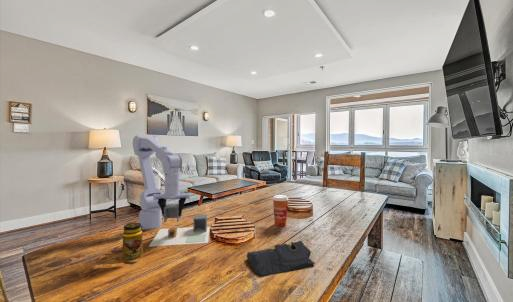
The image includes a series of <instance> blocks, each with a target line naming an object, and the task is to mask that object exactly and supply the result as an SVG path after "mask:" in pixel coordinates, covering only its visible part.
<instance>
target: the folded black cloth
mask: <svg viewBox="0 0 513 302" xmlns="http://www.w3.org/2000/svg"><path fill="white" fill-rule="evenodd" d="M311 253H312V251H311V250H310V248H308V247H307V246H306V245H305V244H304V243H303V241H302V240H298V241H294V242H291V243H290V244H288V243H282V244H280V243H279V244H275V245H274V248H266V249H261V250H253V251H248V252H247V254H246V258H247V260H248V263H249V264H250V267H251V268H252V270H253V271H254V273H255V274H257V275H258V276H260V277H262V278H263V277H268V276H269V277H270V276H273V275H279V274H284V273H285V274H286V273H289V272H294V271H299V270H303V269H308V268H314V267H315V261H313V260H312V259H310V256H311Z"/></svg>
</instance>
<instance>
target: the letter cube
mask: <svg viewBox="0 0 513 302" xmlns="http://www.w3.org/2000/svg"><path fill="white" fill-rule="evenodd" d="M177 228H178V227H169V228H168V229H169V230H168V238H170V237H176V235H177Z"/></svg>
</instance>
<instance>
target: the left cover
mask: <svg viewBox="0 0 513 302" xmlns="http://www.w3.org/2000/svg"><path fill="white" fill-rule="evenodd" d="M168 219H176V222H179V221H180V219H181V216H180V217H179V203H166V206H165V207H164V217H163V222H164V223H166V222H167V221H168Z"/></svg>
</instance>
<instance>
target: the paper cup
mask: <svg viewBox="0 0 513 302" xmlns="http://www.w3.org/2000/svg"><path fill="white" fill-rule="evenodd" d="M272 201H273V202H272V203H273V220H274V221H273V222H274V226H276V227H281V228H283V227H286V225H287V216H288V215H287V214H288V204H289V203H288V202H289V197H288V196H287V195H285V194H276V195H275V194H274V195H273V197H272Z"/></svg>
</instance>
